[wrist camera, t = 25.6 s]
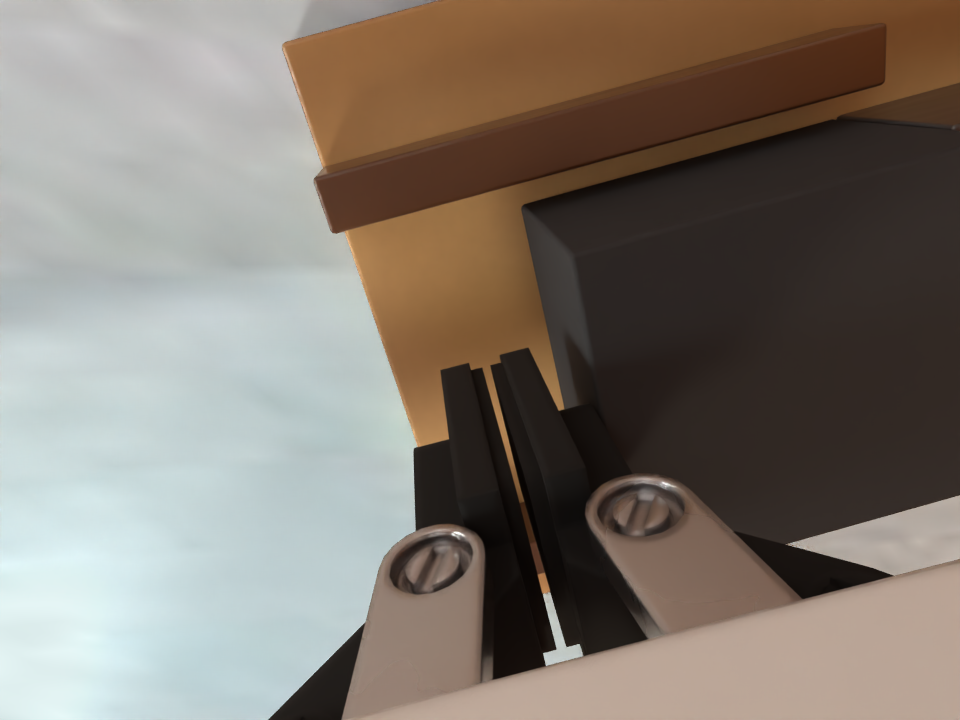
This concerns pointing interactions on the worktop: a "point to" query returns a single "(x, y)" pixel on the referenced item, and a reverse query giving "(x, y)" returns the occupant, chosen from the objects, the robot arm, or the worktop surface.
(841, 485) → the dark grey square block
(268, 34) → the worktop surface
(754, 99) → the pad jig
